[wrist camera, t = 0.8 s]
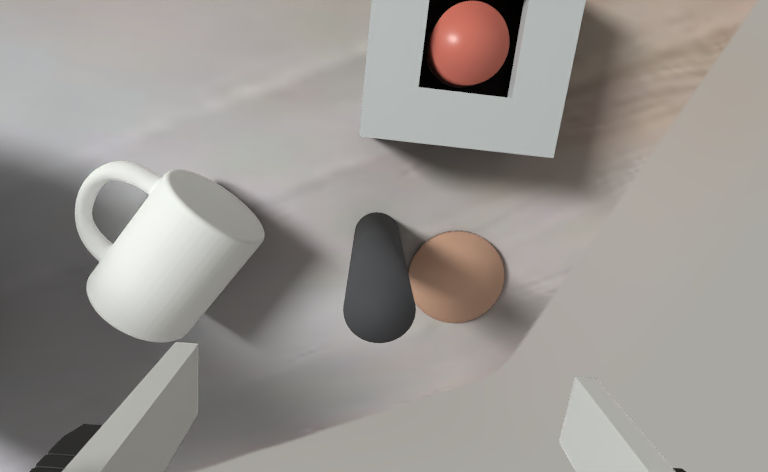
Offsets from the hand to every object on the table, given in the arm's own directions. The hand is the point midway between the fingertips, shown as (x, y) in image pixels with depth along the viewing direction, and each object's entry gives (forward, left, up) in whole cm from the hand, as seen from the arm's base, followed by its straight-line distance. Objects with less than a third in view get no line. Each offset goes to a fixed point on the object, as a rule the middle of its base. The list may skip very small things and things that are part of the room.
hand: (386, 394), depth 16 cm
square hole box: (+4, +14, -22) cm, 26 cm away
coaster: (+7, -3, -22) cm, 23 cm away
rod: (0, 0, -22) cm, 22 cm away
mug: (-16, -1, -22) cm, 28 cm away
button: (+4, +14, -18) cm, 23 cm away
